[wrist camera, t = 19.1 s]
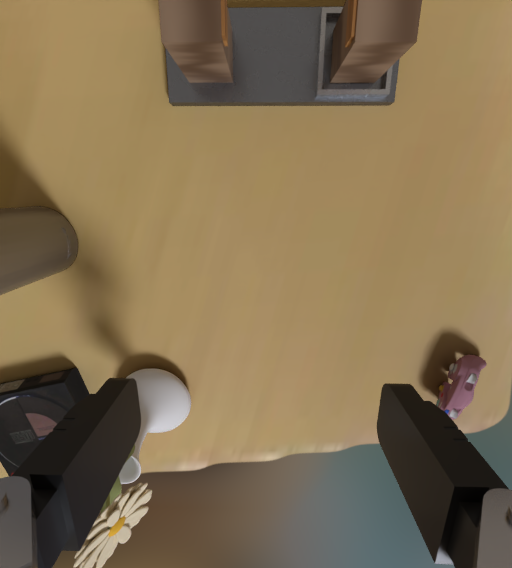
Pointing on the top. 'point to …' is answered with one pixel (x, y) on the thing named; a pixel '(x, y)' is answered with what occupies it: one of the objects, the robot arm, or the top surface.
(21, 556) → the robot arm
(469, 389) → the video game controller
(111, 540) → the flower in vase
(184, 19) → the block
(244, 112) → the top surface
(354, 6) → the walnut finger
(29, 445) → the portable cd player
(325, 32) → the rail
